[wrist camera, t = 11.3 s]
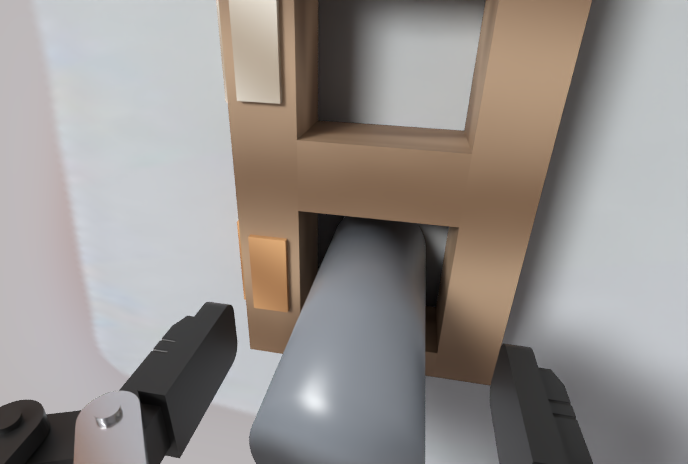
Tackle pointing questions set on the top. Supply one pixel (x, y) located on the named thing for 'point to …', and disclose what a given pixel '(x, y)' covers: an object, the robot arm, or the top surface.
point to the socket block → (395, 168)
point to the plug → (353, 356)
